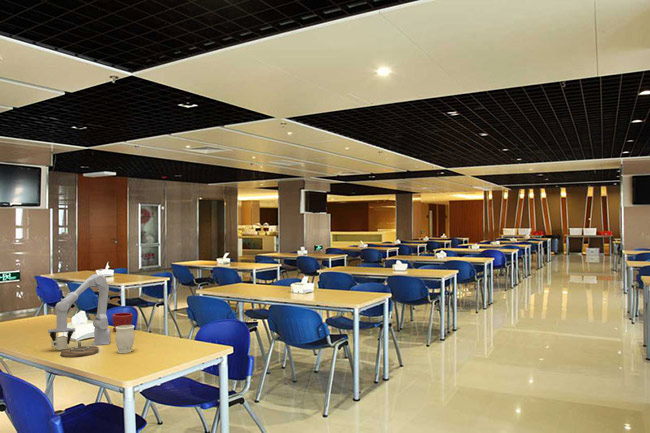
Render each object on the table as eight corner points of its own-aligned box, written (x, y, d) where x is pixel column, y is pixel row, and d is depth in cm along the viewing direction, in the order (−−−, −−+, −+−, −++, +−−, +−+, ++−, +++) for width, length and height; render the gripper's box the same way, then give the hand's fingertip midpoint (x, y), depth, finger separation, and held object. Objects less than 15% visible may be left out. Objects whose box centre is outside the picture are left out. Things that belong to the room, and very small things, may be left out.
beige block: (63, 346, 296) (63, 335, 296) (67, 347, 293) (67, 337, 293) (50, 349, 290) (49, 338, 290) (54, 351, 287) (53, 340, 287)
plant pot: (114, 333, 339) (114, 316, 339) (111, 330, 350) (111, 313, 350) (134, 331, 346) (134, 314, 346) (130, 328, 357) (130, 311, 357)
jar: (138, 350, 292) (138, 325, 292) (125, 354, 282) (126, 328, 282) (123, 349, 295) (124, 324, 296) (111, 353, 286) (111, 327, 286)
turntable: (72, 348, 296) (72, 340, 296) (104, 348, 296) (104, 340, 296) (53, 356, 276) (53, 349, 276) (88, 357, 276) (88, 349, 276)
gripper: (76, 319, 299) (76, 342, 299) (50, 321, 295) (50, 343, 295) (73, 322, 293) (73, 344, 292) (47, 323, 289) (46, 346, 288)
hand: (61, 344), depth 293 cm, fingers closed on beige block, 7 cm apart
